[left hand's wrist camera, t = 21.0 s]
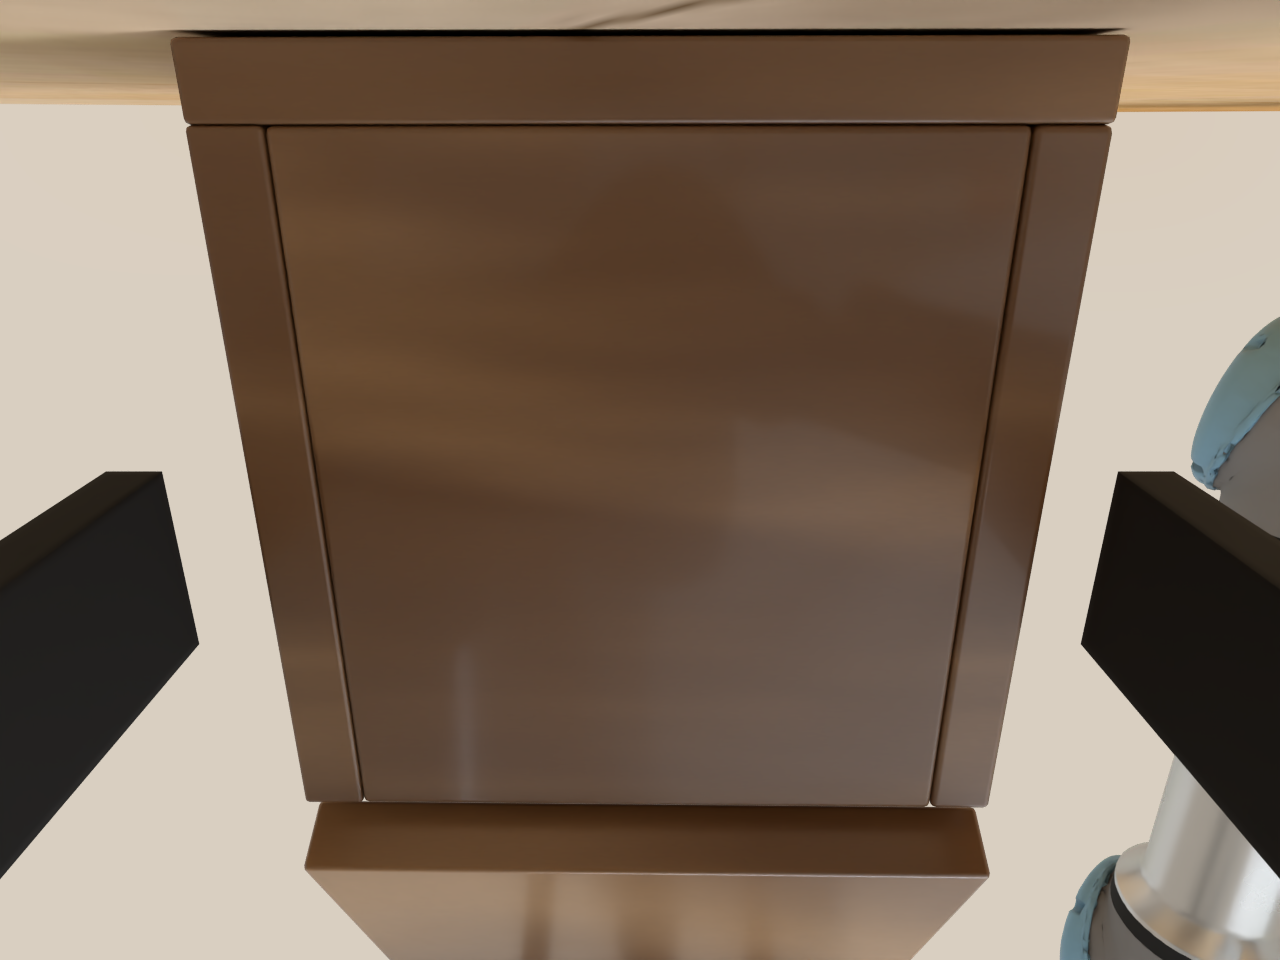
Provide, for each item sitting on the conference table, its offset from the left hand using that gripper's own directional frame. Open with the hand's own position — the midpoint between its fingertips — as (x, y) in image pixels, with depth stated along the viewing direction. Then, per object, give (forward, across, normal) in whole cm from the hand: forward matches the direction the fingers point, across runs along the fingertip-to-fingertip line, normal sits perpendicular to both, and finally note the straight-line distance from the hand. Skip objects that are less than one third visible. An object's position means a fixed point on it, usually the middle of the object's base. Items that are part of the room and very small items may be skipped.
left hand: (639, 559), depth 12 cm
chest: (+6, 0, -7) cm, 9 cm away
